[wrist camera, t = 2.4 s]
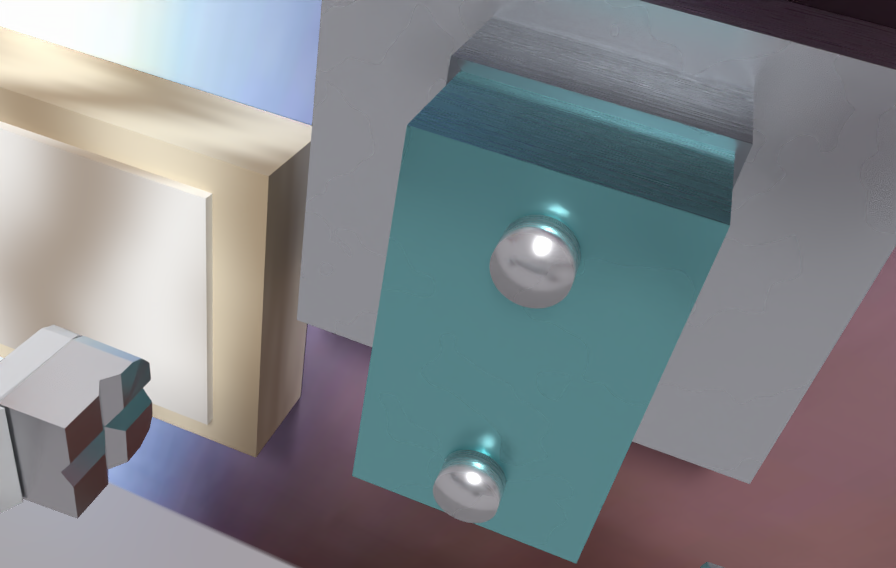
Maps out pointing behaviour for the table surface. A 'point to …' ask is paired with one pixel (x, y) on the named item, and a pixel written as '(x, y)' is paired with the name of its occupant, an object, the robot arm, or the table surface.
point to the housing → (541, 276)
